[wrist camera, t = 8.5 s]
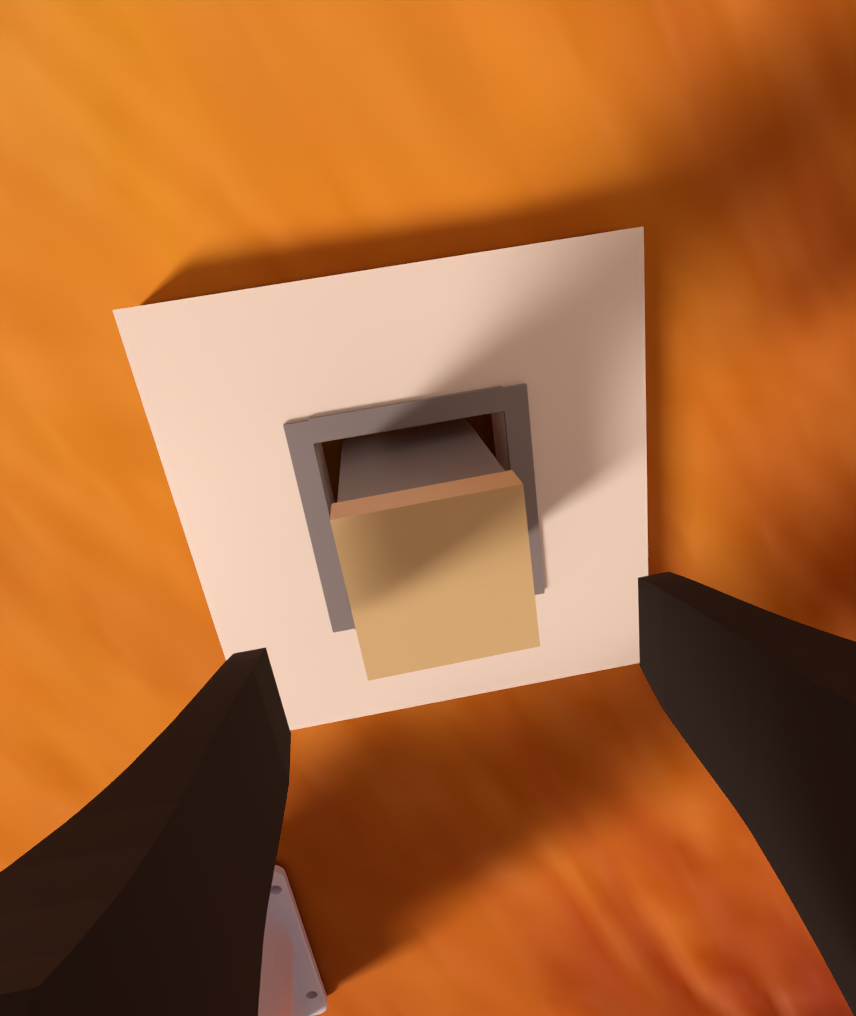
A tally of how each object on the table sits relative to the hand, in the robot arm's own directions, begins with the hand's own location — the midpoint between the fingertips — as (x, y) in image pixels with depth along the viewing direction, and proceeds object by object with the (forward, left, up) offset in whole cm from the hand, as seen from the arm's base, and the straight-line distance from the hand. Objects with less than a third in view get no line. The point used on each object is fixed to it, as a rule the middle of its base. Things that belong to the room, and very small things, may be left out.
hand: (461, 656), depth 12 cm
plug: (0, 0, -9) cm, 9 cm away
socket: (0, 0, -9) cm, 9 cm away
